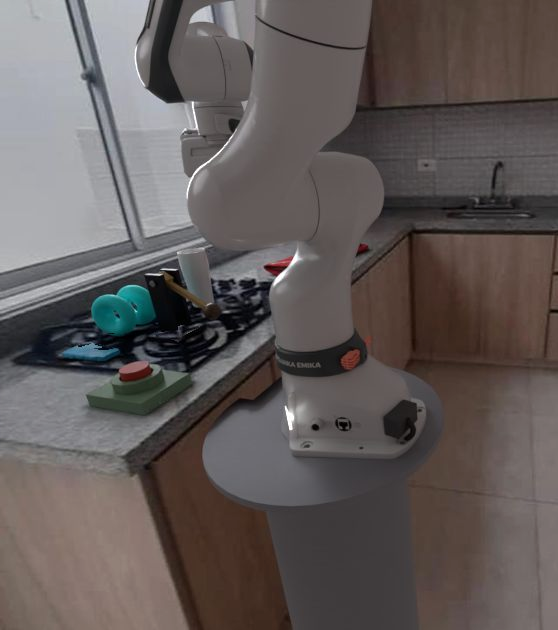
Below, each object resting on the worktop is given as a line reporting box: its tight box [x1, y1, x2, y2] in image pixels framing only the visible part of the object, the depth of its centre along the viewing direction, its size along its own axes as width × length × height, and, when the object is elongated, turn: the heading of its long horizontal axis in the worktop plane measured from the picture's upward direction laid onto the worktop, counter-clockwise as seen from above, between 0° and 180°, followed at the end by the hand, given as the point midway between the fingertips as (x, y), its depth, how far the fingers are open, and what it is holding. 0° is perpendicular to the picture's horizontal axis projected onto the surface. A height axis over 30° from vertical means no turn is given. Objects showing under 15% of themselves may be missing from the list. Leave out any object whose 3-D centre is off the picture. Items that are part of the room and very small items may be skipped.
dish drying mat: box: [262, 242, 369, 276], centre depth 159 cm, size 16×41×4 cm, turn 154°
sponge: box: [61, 342, 122, 362], centre depth 92 cm, size 2×12×6 cm
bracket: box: [143, 268, 208, 345], centre depth 98 cm, size 8×9×15 cm
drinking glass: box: [176, 247, 215, 309], centre depth 116 cm, size 7×7×15 cm
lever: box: [155, 271, 222, 321], centre depth 95 cm, size 16×4×4 cm, turn 73°
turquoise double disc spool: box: [90, 284, 156, 337], centre depth 103 cm, size 10×10×10 cm
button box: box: [85, 363, 193, 416], centre depth 75 cm, size 12×10×4 cm
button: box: [118, 360, 152, 382], centre depth 74 cm, size 4×4×2 cm
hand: (236, 200), depth 89 cm, fingers closed
